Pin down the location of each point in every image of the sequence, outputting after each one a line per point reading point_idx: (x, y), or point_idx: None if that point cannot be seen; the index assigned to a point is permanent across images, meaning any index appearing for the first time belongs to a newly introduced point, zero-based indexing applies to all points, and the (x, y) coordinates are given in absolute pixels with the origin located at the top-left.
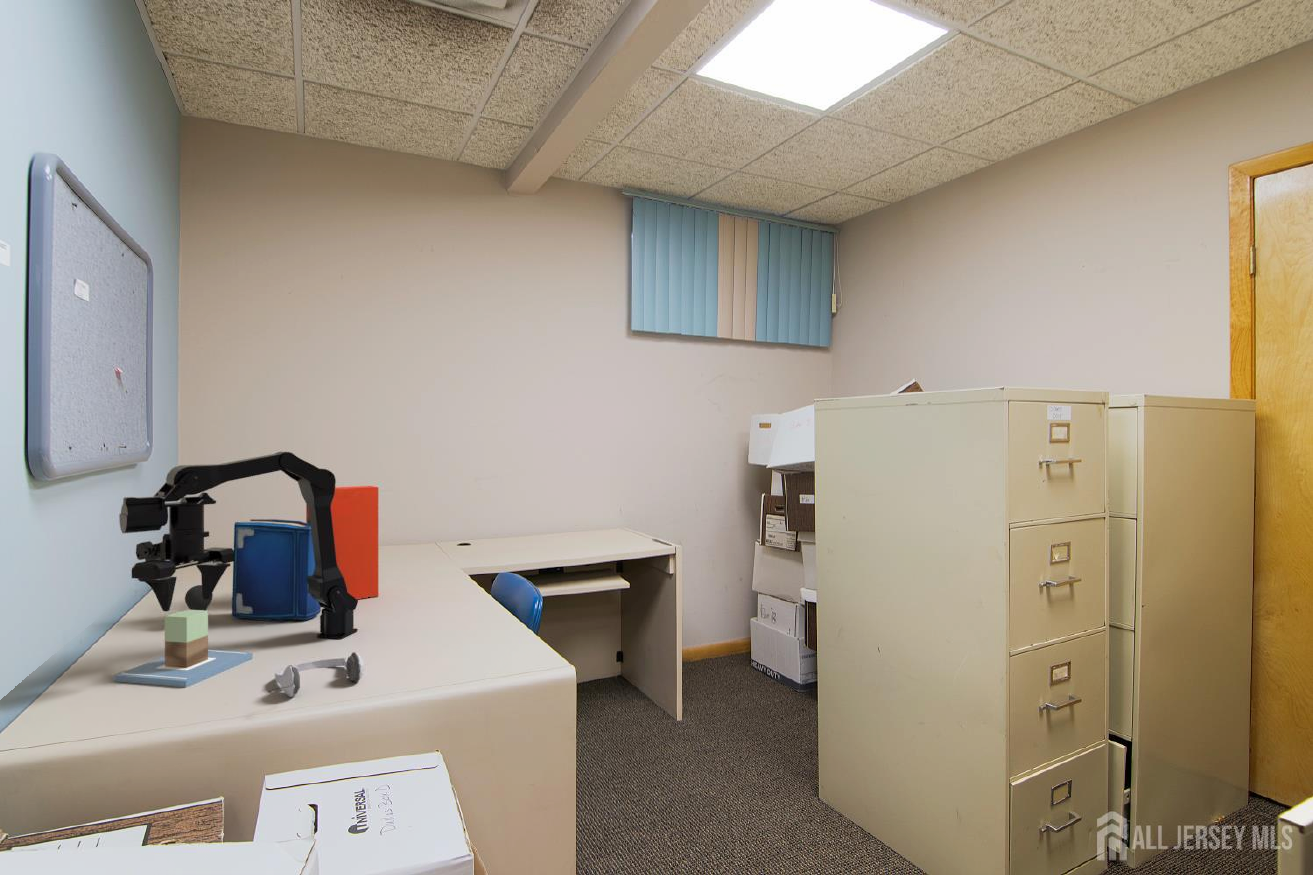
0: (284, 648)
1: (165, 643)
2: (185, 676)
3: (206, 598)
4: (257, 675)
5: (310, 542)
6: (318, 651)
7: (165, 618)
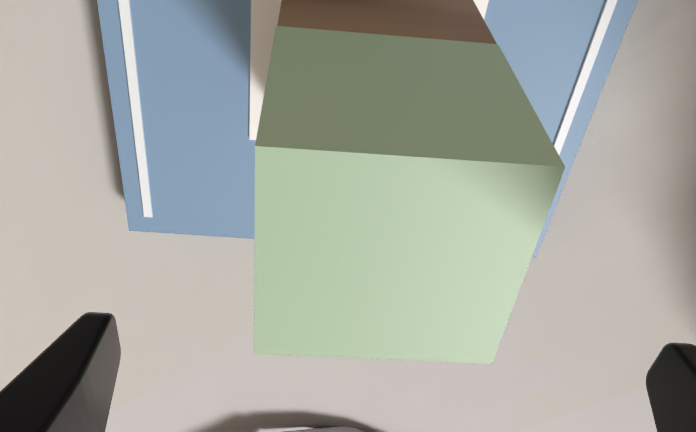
0: (664, 280)
1: (278, 23)
2: (175, 190)
3: (650, 382)
4: (315, 357)
5: None
6: (589, 397)
7: (256, 140)
